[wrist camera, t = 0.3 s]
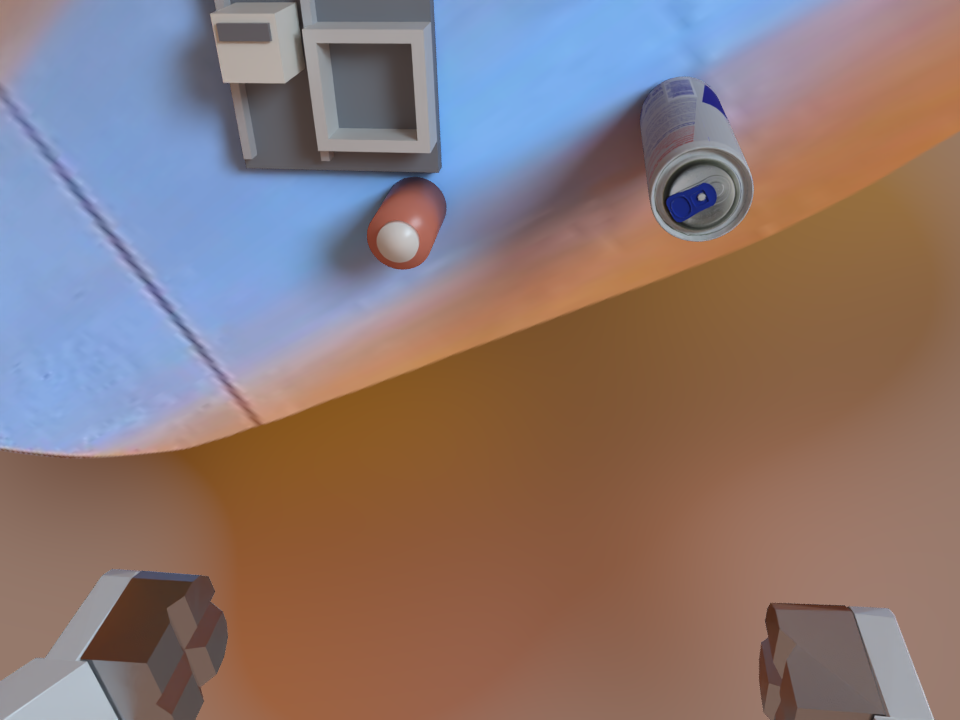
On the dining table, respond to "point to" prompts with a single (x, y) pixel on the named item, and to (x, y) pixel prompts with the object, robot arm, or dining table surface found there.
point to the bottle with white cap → (407, 223)
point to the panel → (349, 92)
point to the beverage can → (693, 162)
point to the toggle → (258, 42)
